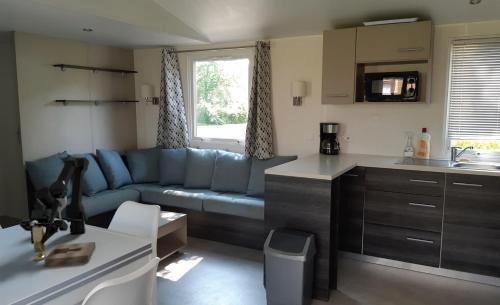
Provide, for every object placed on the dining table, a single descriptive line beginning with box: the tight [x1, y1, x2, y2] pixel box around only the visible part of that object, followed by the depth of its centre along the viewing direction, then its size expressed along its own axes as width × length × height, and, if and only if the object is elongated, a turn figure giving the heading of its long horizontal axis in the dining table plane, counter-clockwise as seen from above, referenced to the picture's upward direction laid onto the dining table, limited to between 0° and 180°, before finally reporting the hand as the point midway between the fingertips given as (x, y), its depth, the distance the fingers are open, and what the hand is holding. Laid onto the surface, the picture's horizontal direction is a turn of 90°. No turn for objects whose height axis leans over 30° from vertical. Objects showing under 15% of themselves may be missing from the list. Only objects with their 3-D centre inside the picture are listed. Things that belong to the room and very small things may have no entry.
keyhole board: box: [44, 241, 96, 267], centre depth 158 cm, size 16×16×3 cm
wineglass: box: [57, 196, 68, 231], centre depth 196 cm, size 8×8×21 cm
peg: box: [32, 225, 47, 262], centre depth 156 cm, size 4×4×14 cm
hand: (37, 243), depth 154 cm, fingers closed on peg, 4 cm apart
